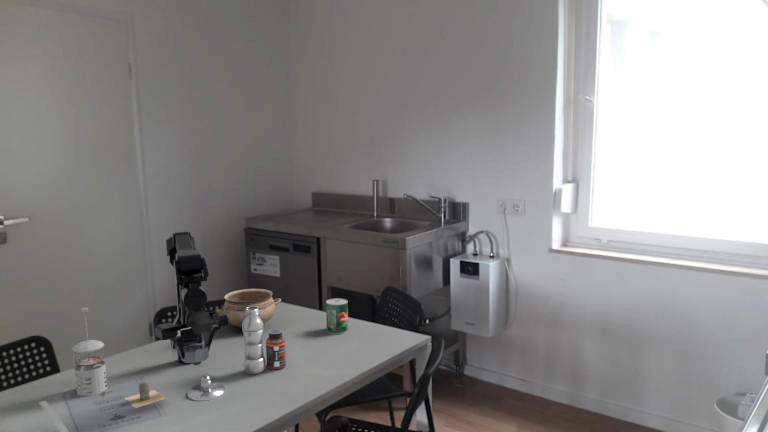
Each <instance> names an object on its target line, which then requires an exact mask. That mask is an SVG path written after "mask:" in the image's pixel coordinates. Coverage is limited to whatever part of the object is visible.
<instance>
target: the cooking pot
mask: <svg viewBox="0 0 768 432" xmlns="http://www.w3.org/2000/svg"><path fill="white" fill-rule="evenodd" d="M272 296H273V292H272V291H271V290H270V289H269V290H268V289H263V288H245V289H239V290H238V289H237V290H234V291H231V292H228V293H227V294H225V295H224V299H225V300H224V301H225V302H224V304H223V308H216V309H215V310H214V311H217V312H218V311H220V312H222V313H224V314H226V315H227V316H228V317H229V324H230V325H232V326H235V327H237V328H240V329H242V324H243V321H244V320H245V318H246V317H247V315H246V308H248V307H258V312H259V314H258V316H259V317H260V319H261V320H262V322H263V325H265V324H266V323H268V322H269V321H270V320H271V319H272V318H273V316H274V315H275V312H276V306H277V305H279V304H280V303H281V301H282V299H281V298H276V299H274V298H273V297H272Z"/></svg>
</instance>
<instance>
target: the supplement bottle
mask: <svg viewBox="0 0 768 432" xmlns="http://www.w3.org/2000/svg"><path fill="white" fill-rule="evenodd" d="M265 347H266V348H265V349H266V350H265V352H266V353H265V355H266V367H267V369H270V370H276V371H277V370H282V369H284V368H285V367H286V366H287V353H286V350H287V348H286V338H285V337H284V336H283V331H282V330H281V329H272V330H269V331H268V337H267V338H266V340H265Z"/></svg>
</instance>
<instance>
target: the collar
mask: <svg viewBox="0 0 768 432" xmlns="http://www.w3.org/2000/svg"><path fill="white" fill-rule="evenodd" d="M183 350H184V359H182V358H181V360H182V361H183V362H185V363H198V362H201V363H202V362H204V361H206V360H207V359H208V358H209V357H210V355H209V352H208V346H207V345H206V344H204V342H202V343H194V344H190V345H186V346H184V347H183Z"/></svg>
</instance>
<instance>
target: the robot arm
mask: <svg viewBox="0 0 768 432" xmlns="http://www.w3.org/2000/svg"><path fill="white" fill-rule="evenodd" d="M171 234H172V235H171V236H170V237H169V238H166V240H165V245H164V247H165V256H166V257H168V261H169V264H171V266H172V267H173V270H174V277H175V278H174V279H175V293H176V306H177V307H176V308H177V309H176V310H177V315H176V317H175V319H174V321H173V323H172V322H164V323H162V324H157V325H156V326H155V328H154V332H155V333H154V335H155V336H156V337H158V338H159V339H160V340H161V341H167V340H170V341H171V346H172V347H171V348H172V349H176V355H177V359H176V360H175V362H177V363H179V365H181V364H183V365H189V366H190V365H194V366H196V365H198V364H201V363H202V361H201V362H198V363H185V362H183V361H182V360H181V358H182V359H184V350H183V347H184V346H186V345H190V344H194V343H203V344H206V345H207V346H208V352H209V351H210V349H211V345H212V342H213V339H214V337H215V334H216V333H217V332H218V331H220V330H222V327H225V326H229V325H230V323H229V317H228V316H227V315H226V314H224V313H222V312H220V311H218V312H217V311H215V310H214V311H209V312H208V311H207V310H206V304H207V301H208V296H207V293H206V291H205V289H204V287H203V283H202V282H207V281H208V277H209V269H208V264H207V260H206V259H205V257H204V256H202V254H201V252H200V251H199V250H196V249H197V247H196V238H195V237H193V236H192V235H191V234H192V233H191V231H175V232H174V233H171Z"/></svg>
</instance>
